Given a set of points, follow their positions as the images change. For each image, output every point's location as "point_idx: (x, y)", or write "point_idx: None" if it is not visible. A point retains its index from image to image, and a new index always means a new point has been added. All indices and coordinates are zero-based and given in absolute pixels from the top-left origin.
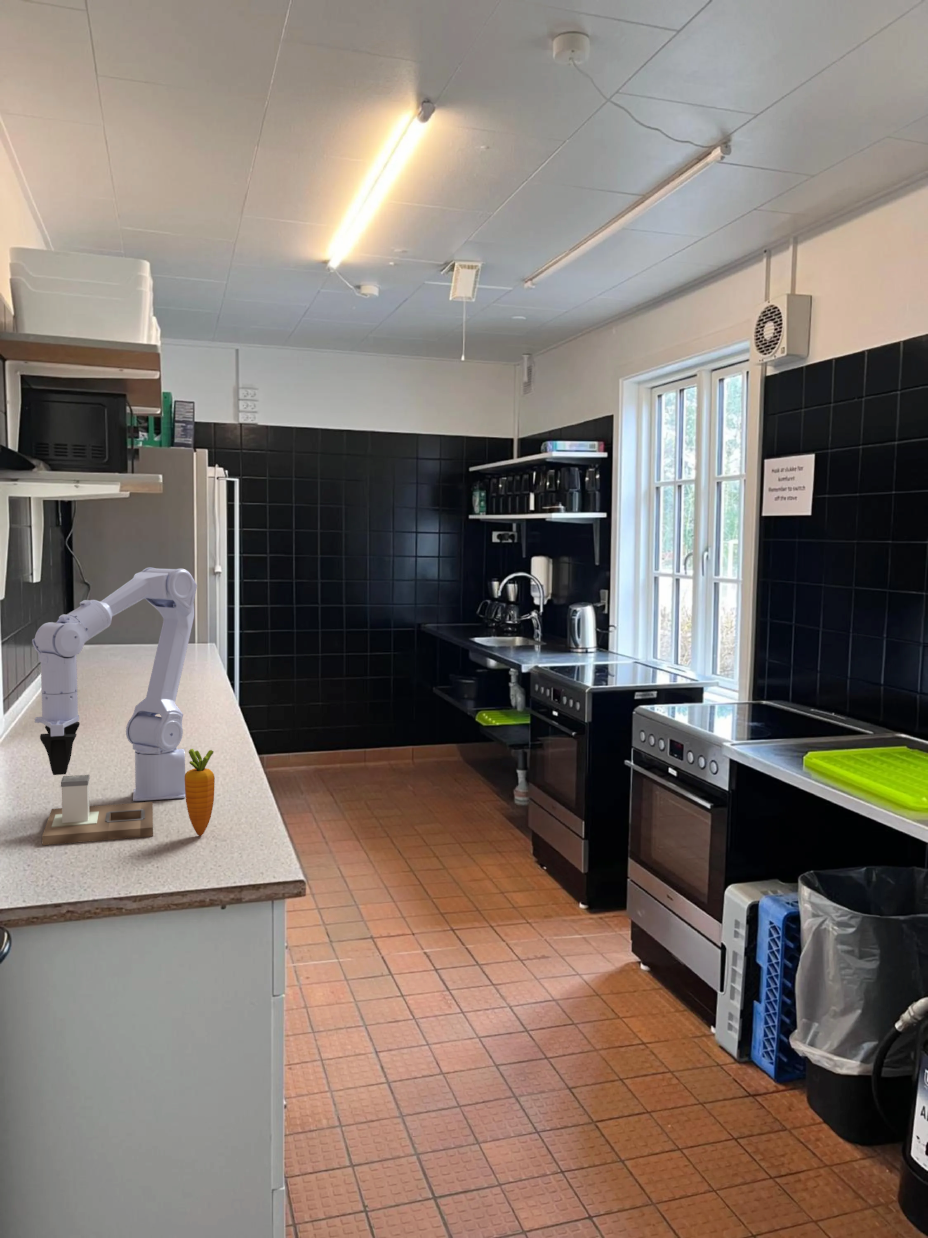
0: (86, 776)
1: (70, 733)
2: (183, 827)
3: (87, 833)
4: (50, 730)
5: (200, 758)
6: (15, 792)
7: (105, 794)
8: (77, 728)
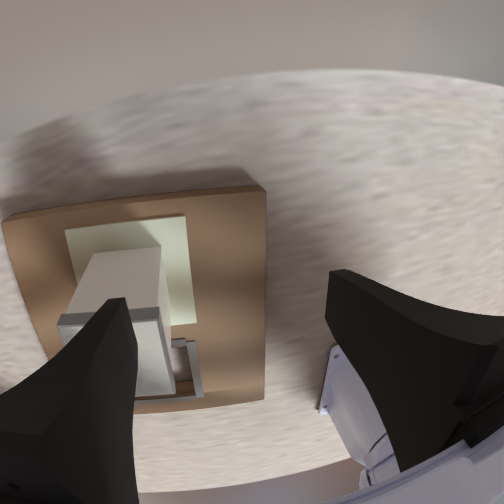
0: (148, 390)
1: (400, 428)
2: (135, 432)
3: (31, 318)
4: (455, 364)
5: None
6: (482, 91)
7: (413, 278)
8: (400, 468)
